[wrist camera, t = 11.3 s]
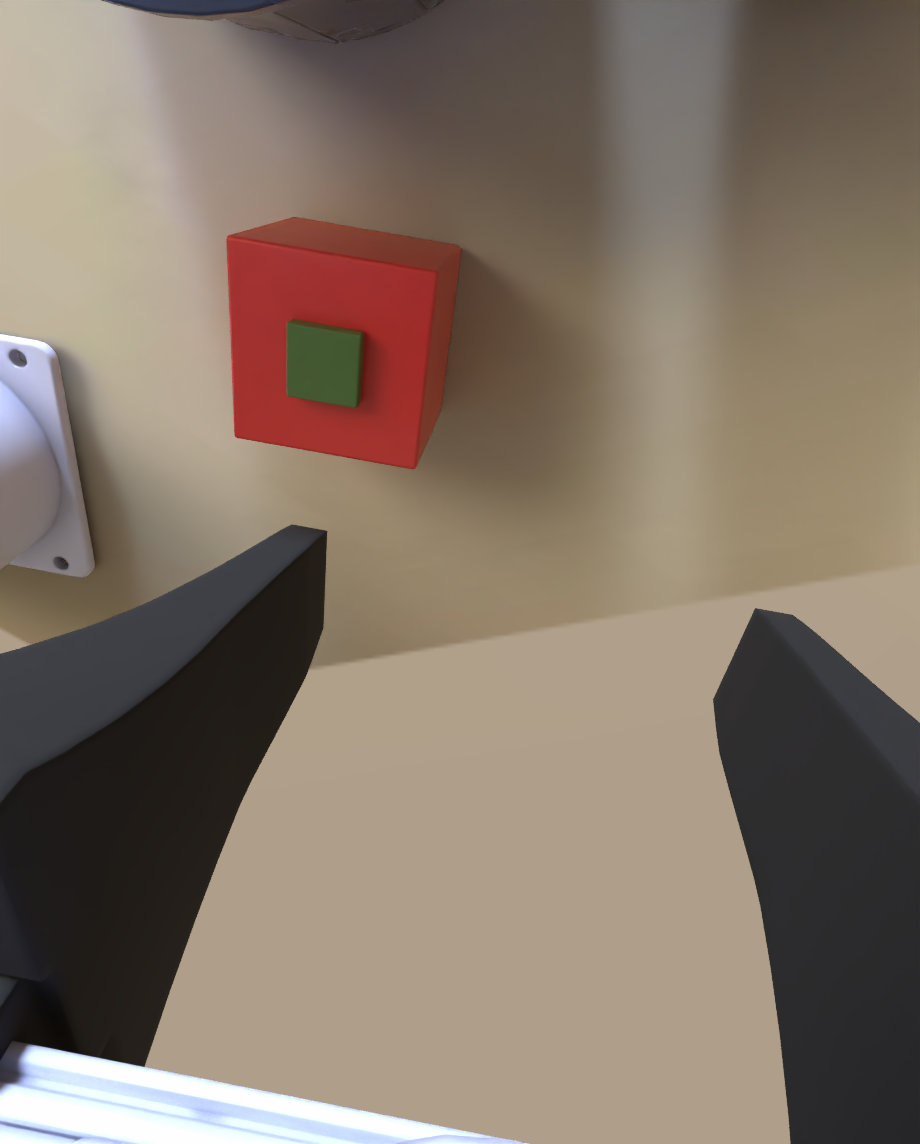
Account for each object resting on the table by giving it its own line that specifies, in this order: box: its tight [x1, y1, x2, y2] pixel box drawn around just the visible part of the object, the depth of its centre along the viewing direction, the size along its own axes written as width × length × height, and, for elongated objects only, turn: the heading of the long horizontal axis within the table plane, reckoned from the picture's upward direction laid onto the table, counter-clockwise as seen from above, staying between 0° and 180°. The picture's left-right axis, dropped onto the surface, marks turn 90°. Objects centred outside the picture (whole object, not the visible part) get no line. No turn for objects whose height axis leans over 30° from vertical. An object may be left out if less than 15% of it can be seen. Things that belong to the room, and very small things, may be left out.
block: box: [227, 217, 461, 469], centre depth 17 cm, size 4×4×5 cm
